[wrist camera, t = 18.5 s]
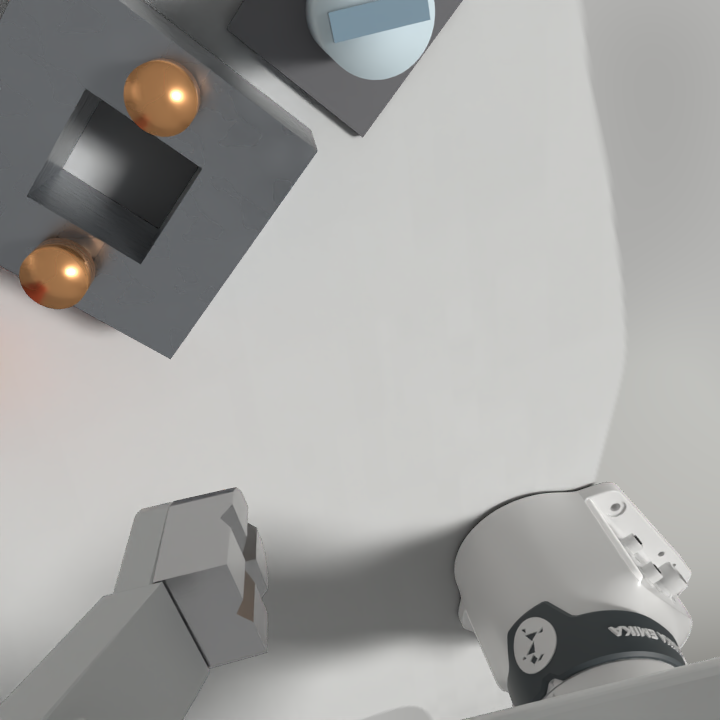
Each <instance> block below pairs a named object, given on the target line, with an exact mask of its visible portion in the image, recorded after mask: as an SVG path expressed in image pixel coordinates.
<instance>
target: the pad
mask: <svg viewBox="0 0 720 720" xmlns="http://www.w3.org/2000/svg"><path fill="white" fill-rule="evenodd" d="M461 2H462V0H434V3H435V21H434V27H433V31H432V35H431V38H430V40H429V43H428V45H427V47H426V49H425V50H424V52H423V53H422V55H423V54H424V53H425V51H426V50H427V49H428V47H429V46H430V44H431V43H432V42H433V40H434V39H435V38H436V36H437V35H438V33H439V32H440V31H441V29H442V28H443V27H444V25H445V24H446V22H447V21H448V20H449V18H450V17H451V16H452V14H453V13H454V11H455V10H456V9H457V7H458V6H459V5H460V3H461ZM305 9H306V0H244V1H243V3H242V4H241V6H240V7H239V9H238V11H237V12H236V14H235V16H234V17H233V19H232V21H231V22H230V24H229V26H228V27H227V30H228V31H230V32H231V33H232V34H233V35H235V36H236V37H237V38H238V39H240V40H241V41H242V42H243V43H245V44H246V45H247V46H248V47H250V48H251V49H252V50H253V51H255V52H256V53H257V54H258V55H260V56H261V57H262V58H264V59H265V60H266V61H267V62H269V63H270V64H271V65H272V66H274V67H275V68H276V69H277V70H279V71H280V72H281V73H282V74H284V75H285V76H286V77H287V78H289V79H290V80H291V81H292V82H294V83H295V84H296V85H298V86H299V87H300V88H301V89H303V90H304V91H305V92H306V93H308V94H309V95H310V96H311V97H313V98H314V99H315V100H316V101H318V102H319V103H320V104H321V105H323V106H324V107H325V108H326V109H328V110H329V111H330V112H332V113H333V114H334V115H335V116H337V117H338V118H339V119H340V120H342V121H343V122H344V123H345V124H347V125H348V126H349V127H350V128H352V129H353V130H354V131H355V132H357V133H358V134H359V135H360V136H362V137H363V136H364V135H365V134H366V132H367V131H368V130H369V128H370V127H371V125H372V124H373V123H374V121H375V120H376V119H377V117H378V116H379V114H380V113H381V112H382V110H383V109H384V108H385V106H386V105H387V103H388V102H389V101H390V99H391V98H392V97H393V95H394V94H395V92H396V91H397V90H398V88H399V87H400V86H401V84H402V83H403V81H404V80H405V79H406V77H407V76H408V75H409V73H410V72H411V71H412V69H413V68H414V66H415V65H416V64H417V62H418V61H419V60H420V58H421V57H422V55H421V56H420V58H419V59H418V60H417V61H416V62H415V63H414V64H413V65H412V66H411V67H410V68H409V69H407V70H406V71H404V72H403V73H401V74H399V75H397V76H394V77H391V78H388V79H382V80H369V79H364V78H360V77H357V76H355V75H352V74H351V73H349V72H347V71H346V70H344V69H343V68H342V67H341V66H339V65H338V64H337V63H336V62H335V61H334V60H333V59H332V58H331V57H330V56H329V55H328V54H327V53H326V52H325V51H324V50H323V49H322V48H321V47H320V46H319V45H318V44H317V43H316V41H315V40H314V39H313V37H312V35H311V33H310V31H309V28H308V25H307V21H306V11H305Z"/></svg>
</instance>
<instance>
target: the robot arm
mask: <svg viewBox="0 0 720 720" xmlns="http://www.w3.org/2000/svg"><path fill="white" fill-rule="evenodd" d="M247 522H248V505H247V503H246V501H245V498H244V496H243V494H242V492H241V490H240V489H238V488H237V487H235V488H230V489H226V490H221V491H217V492H213V493H208V494H204V495H199V496H195V497H190V498H186V499H181V500H177V501H173V502H169V503H165V504H161V505H156V506H152V507H148V508H144V509H141V510H140V511H139V512H138V513H137V514H136V516H135V518H134V522H133V525H132V529H131V532H130V536H129V539H128V543H127V546H126V550H125V553H124V557H123V561H122V564H121V568H120V571H119V575H118V578H117V582H116V585H115V589H114V593H113V594H110V595H106V596H103V597H102V598H101V599H100V600H99V601H98V602H97V603H96V604H95V605H94V607H93V608H92V609H91V610H90V611H89V612H88V613H87V614H86V615H85V616H84V617H83V618H82V619H81V620H80V621H79V622H78V623H77V624H76V626H75V627H74V628H73V629H72V630H71V631H70V632H69V633H68V634H67V635H66V636H65V637H64V638H63V639H62V640H61V641H60V642H59V643H58V645H57V646H56V647H55V648H54V649H53V650H52V651H51V652H50V653H49V654H48V655H47V656H46V657H45V658H44V659H43V660H42V661H41V663H40V664H39V665H38V666H37V667H36V668H35V669H34V670H33V671H32V672H31V673H30V674H29V675H28V676H27V677H26V678H25V679H24V680H23V682H22V683H21V684H20V685H19V686H18V687H17V688H16V689H15V690H14V691H13V692H12V693H11V694H10V695H9V696H8V697H7V698H6V699H5V701H4V702H3V703H2V704H1V705H0V720H183V719H184V717H185V715H186V713H187V712H188V710H189V708H190V706H191V705H192V703H193V701H194V700H195V698H196V696H197V694H198V693H199V691H200V689H201V687H202V686H203V684H204V682H205V680H206V679H207V677H208V675H209V673H210V670H209V669H210V668H213V667H217V666H220V665H224V664H228V663H231V662H235V661H239V660H242V659H246V658H249V657H253V656H257V655H260V654H264V653H267V633H268V613H267V610H266V608H265V606H264V603H263V601H262V597H263V596H264V594H265V593H266V591H267V590H268V569H267V562H266V554H265V551H264V547H263V544H262V540H261V537H260V535H259V532H258V530H257V528H256V527H254V526H252V525H251V524H249V523H247ZM454 574H455V580H456V583H457V586H458V588H459V591H460V594H461V601H460V605H459V611H458V617H459V619H460V622H461V624H462V626H463V628H465V629H466V630H469V631H473V632H475V635H476V637H477V639H478V642H479V644H480V646H481V649H482V651H483V653H484V656H485V658H486V660H487V663H488V665H489V667H490V670H491V672H492V674H493V676H494V679H495V681H496V683H497V685H498V686H499V688H500V689H501V690H502V691H506V692H508V693H509V695H510V697H511V700H512V703H513V704H512V707H511V708H507V709H503V710H499V711H495V712H491V713H487V714H483V715H479V716H475V717H471V718H466V719H462V720H720V657H716V658H712V659H708V660H704V661H700V662H695V663H692V664H687V663H686V660H685V658H684V655H683V653H682V651H681V650H680V649H681V648H682V646H683V645H684V643H685V642H686V640H687V638H688V637H689V635H690V632H691V629H692V618H691V616H690V614H689V612H688V611H687V609H686V608H685V606H684V605H683V603H682V602H681V600H680V599H679V597H678V596H679V595H680V594H681V592H682V591H683V590H684V589H686V588H687V586H688V584H687V583H688V581H689V579H690V576H691V571H690V569H689V567H688V565H687V564H686V562H685V561H684V559H683V558H682V557H681V556H680V555H679V554H678V553H677V551H676V550H675V549H674V548H673V547H672V546H671V545H670V544H669V542H668V541H667V540H666V539H665V538H664V537H663V536H662V535H661V534H660V532H659V531H658V530H657V529H656V528H655V527H654V526H653V525H652V523H651V522H650V521H649V520H648V519H647V518H646V517H645V516H644V515H643V514H642V512H641V511H640V510H639V509H638V508H637V507H636V506H635V504H634V503H633V502H632V501H631V500H630V499H629V498H628V497H627V495H626V494H625V493H624V492H623V491H622V490H621V489H620V488H619V487H618V485H616V484H615V483H612V482H605V483H600V484H596V485H593V486H590V487H587V488H584V489H582V490H579V491H574V492H559V493H544V494H538V495H533V496H529V497H525V498H522V499H519V500H516V501H514V502H511V503H509V504H507V505H505V506H503V507H501V508H499V509H497V510H496V511H494V512H493V513H491V514H490V515H488V516H487V517H485V518H484V519H483V520H482V521H481V522H479V523H478V524H477V525H476V526H475V527H474V528H473V529H472V530H471V532H470V533H469V534H468V535H467V537H466V538H465V539H464V541H463V543H462V544H461V546H460V548H459V551H458V553H457V556H456V560H455V565H454Z"/></svg>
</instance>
